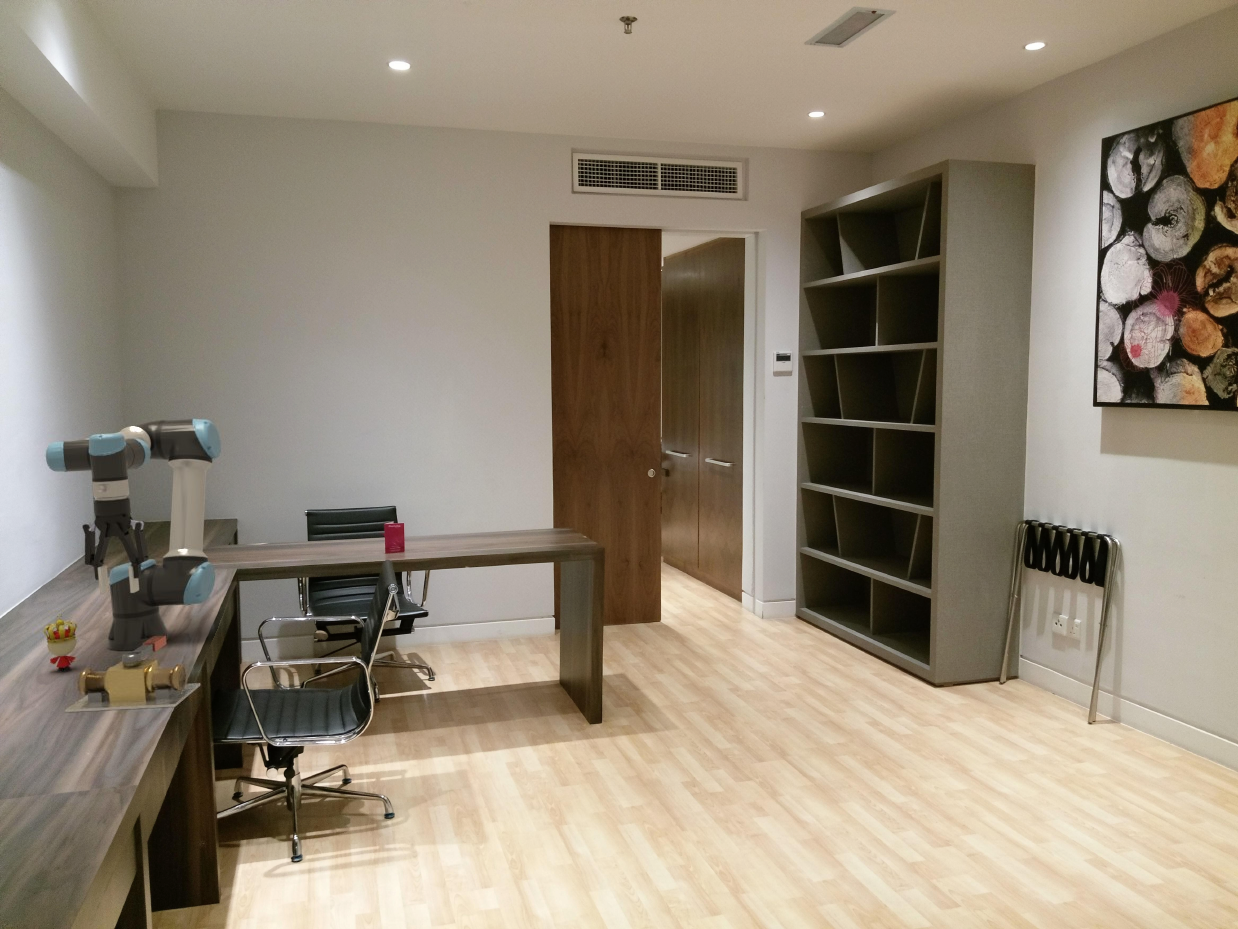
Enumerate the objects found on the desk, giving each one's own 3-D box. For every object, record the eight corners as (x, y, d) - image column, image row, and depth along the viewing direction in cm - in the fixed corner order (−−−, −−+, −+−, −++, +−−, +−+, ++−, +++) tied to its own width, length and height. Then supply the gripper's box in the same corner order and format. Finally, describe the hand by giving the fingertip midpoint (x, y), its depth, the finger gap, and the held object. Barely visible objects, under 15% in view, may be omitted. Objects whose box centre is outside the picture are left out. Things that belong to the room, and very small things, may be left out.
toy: (85, 665, 231) (80, 609, 230) (73, 674, 224) (68, 616, 223) (55, 667, 230) (50, 611, 229) (42, 676, 223) (37, 618, 222)
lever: (137, 666, 202) (136, 656, 202) (119, 666, 202) (118, 657, 202) (168, 644, 219) (168, 635, 219) (152, 645, 219) (151, 636, 218)
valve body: (65, 712, 197) (62, 677, 197) (97, 690, 211) (95, 658, 211) (175, 706, 199) (172, 672, 198) (200, 685, 213) (197, 653, 212)
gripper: (61, 501, 207) (69, 597, 209) (146, 498, 208) (153, 594, 210) (78, 497, 214) (86, 590, 217) (160, 494, 216) (167, 586, 218)
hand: (119, 591), depth 213 cm, fingers open, 6 cm apart
